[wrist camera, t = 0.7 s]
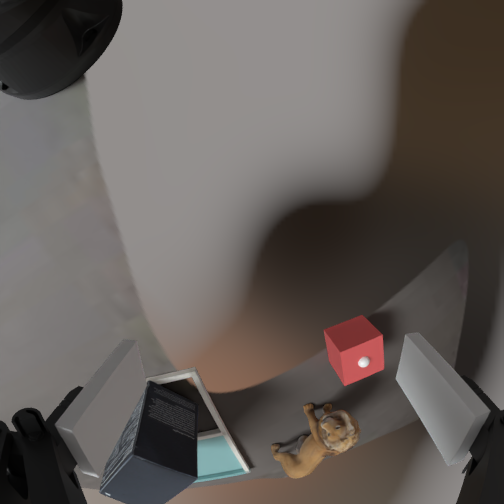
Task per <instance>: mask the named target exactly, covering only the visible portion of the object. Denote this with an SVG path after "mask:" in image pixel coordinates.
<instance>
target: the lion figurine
mask: <svg viewBox="0 0 504 504" xmlns="http://www.w3.org/2000/svg"><path fill="white" fill-rule="evenodd" d="M313 407H314V406H313V405H312V404H311V403H309V404H306V405H304V406H303V408H304V412H305V414H306V415H307V417H308V420H309V425H310V428H311V432H312V434H311V435H309V436H306V435H303V436H301V437H300V438H299V439H298V444H297V447H296V451H297V453H298V454H297V455H294V454H291V453H287V452H280V453H279V452H278V450H279V448H280V445H279V444H273V445H272V446H271V451H272V453H273V456H274V458H275V459H276V460H279V461H280V462H281V465H282V467H283V469H284V471H285V472H286V474H287V475H288V476H290V477H292V478H301V477H304V476H306V475H309V474H311V473H312V472H313V471H314V469H315V468H316V467H317V465H318V464H319V463H320V462H321V461H322V460H323V459H324V458H325V457H326V456H336V455H338V454H340V453H342V452H344V453H345V452H346V451H348V450H349V449H351V448H353V446H354V445H355V444H356V443H357V442H358V440H359V434H360V433H361V429H360V428H359V425H358V422H357V420H355V419H354V418H353V417H352V416H351V415H350V414H349V413H348V412H346V411H344V410H338V411H335V412H330V410H331V409H332V405H331V404H330V403H328V404H325V405H324V406H323V414H324V415H323V416H322V417H321V418H320V419H319V420H318V419H317V418H316V416H315V413H314V410H313Z"/></svg>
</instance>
